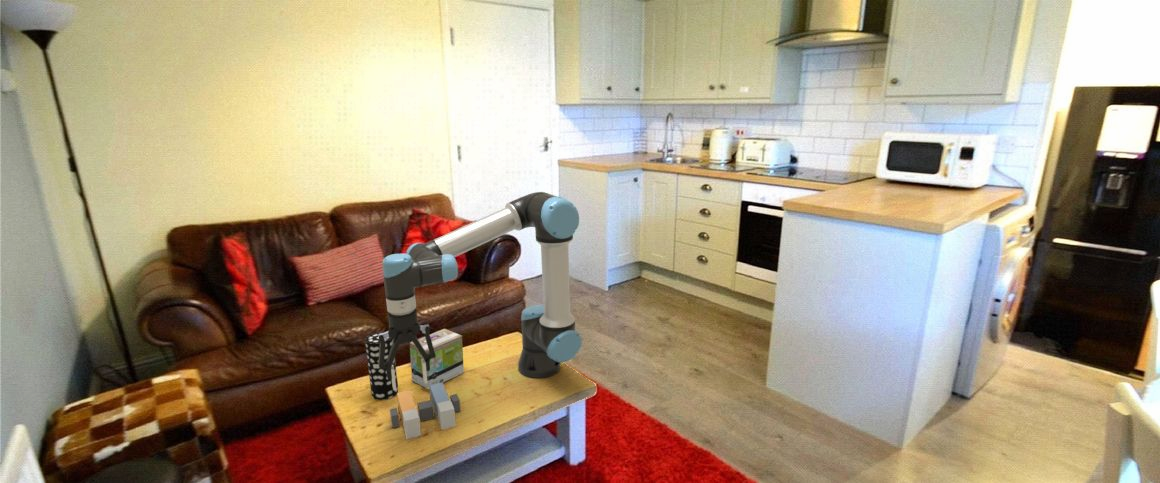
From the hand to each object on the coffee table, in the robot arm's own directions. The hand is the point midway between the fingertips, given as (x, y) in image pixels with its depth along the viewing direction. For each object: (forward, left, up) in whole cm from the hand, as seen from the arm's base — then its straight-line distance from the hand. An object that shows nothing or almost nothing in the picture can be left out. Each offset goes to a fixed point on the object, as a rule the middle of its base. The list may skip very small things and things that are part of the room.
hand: (410, 384), depth 151 cm
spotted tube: (+6, -25, -16) cm, 30 cm away
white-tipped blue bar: (-9, -6, -15) cm, 19 cm away
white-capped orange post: (+1, -6, -15) cm, 16 cm away
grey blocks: (-4, -6, -15) cm, 17 cm away
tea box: (-12, -28, -16) cm, 34 cm away
